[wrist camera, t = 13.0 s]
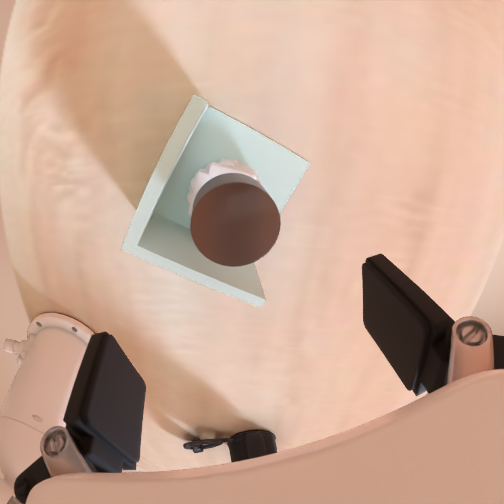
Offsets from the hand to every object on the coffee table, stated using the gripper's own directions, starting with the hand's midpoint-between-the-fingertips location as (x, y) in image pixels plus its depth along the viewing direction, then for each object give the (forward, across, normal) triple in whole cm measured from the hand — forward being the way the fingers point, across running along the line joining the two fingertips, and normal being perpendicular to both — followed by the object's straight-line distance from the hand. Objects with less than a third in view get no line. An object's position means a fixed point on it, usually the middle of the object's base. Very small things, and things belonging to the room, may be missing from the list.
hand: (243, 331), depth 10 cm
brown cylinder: (+12, -1, 0) cm, 12 cm away
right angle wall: (+19, -1, 0) cm, 19 cm away
